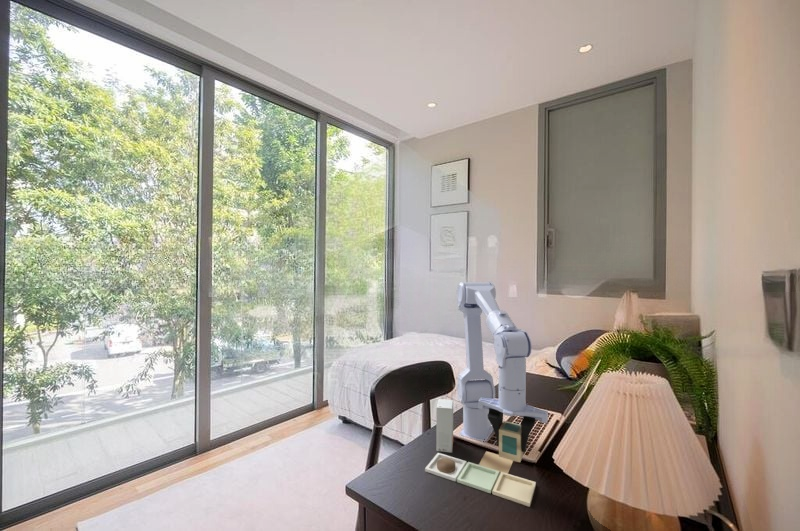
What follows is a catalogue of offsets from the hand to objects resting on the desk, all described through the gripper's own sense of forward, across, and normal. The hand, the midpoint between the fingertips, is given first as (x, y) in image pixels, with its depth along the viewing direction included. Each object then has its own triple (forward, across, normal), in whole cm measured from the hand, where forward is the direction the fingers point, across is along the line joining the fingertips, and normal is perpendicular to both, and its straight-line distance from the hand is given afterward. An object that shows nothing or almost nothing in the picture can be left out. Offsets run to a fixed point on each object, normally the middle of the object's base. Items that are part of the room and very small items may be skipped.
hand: (511, 446), depth 77 cm
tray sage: (+9, -7, -1) cm, 12 cm away
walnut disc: (+9, -15, -1) cm, 18 cm away
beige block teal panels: (+2, 0, 0) cm, 2 cm away
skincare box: (+10, -19, +8) cm, 23 cm away
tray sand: (+9, +1, -1) cm, 9 cm away
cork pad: (+9, -5, +7) cm, 13 cm away
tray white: (+9, -15, -1) cm, 18 cm away
